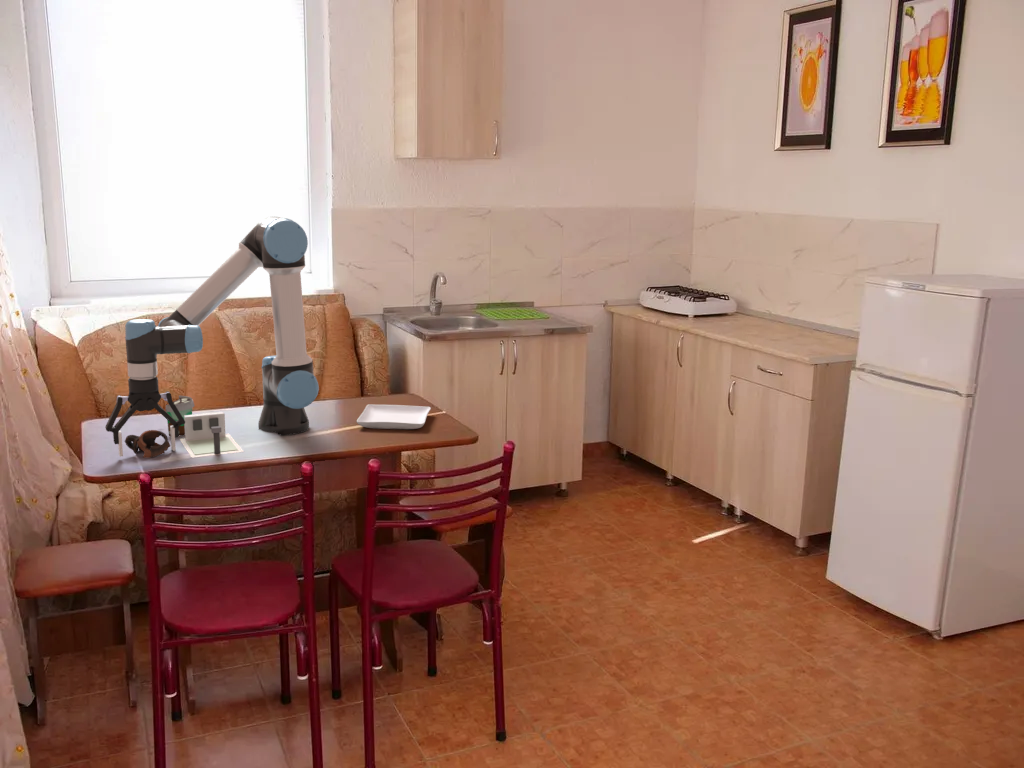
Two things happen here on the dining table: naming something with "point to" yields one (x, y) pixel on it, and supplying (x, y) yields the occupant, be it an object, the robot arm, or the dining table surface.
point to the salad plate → (393, 416)
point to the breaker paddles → (198, 423)
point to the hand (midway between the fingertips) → (147, 452)
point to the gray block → (216, 438)
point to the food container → (184, 408)
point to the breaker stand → (207, 436)
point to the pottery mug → (148, 443)
